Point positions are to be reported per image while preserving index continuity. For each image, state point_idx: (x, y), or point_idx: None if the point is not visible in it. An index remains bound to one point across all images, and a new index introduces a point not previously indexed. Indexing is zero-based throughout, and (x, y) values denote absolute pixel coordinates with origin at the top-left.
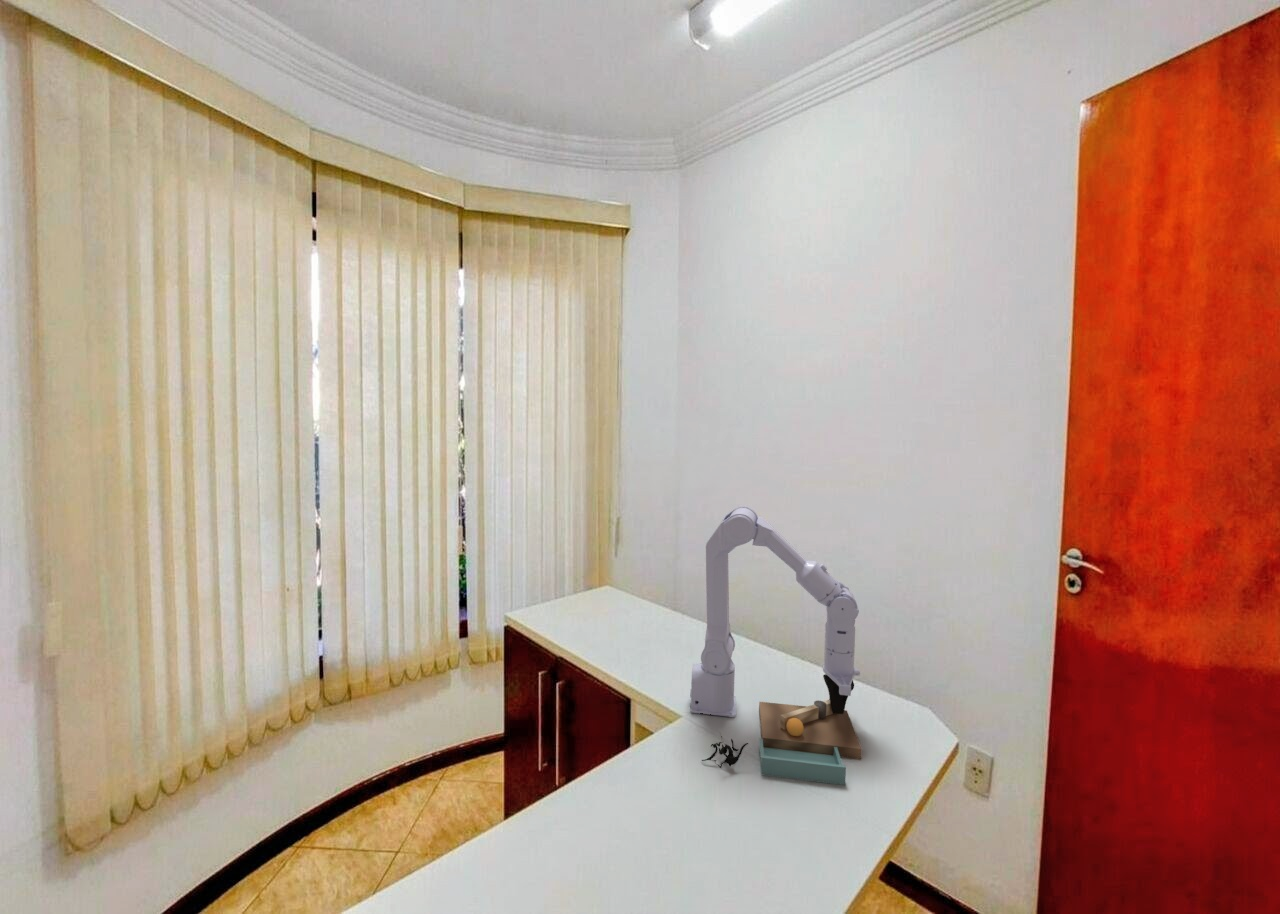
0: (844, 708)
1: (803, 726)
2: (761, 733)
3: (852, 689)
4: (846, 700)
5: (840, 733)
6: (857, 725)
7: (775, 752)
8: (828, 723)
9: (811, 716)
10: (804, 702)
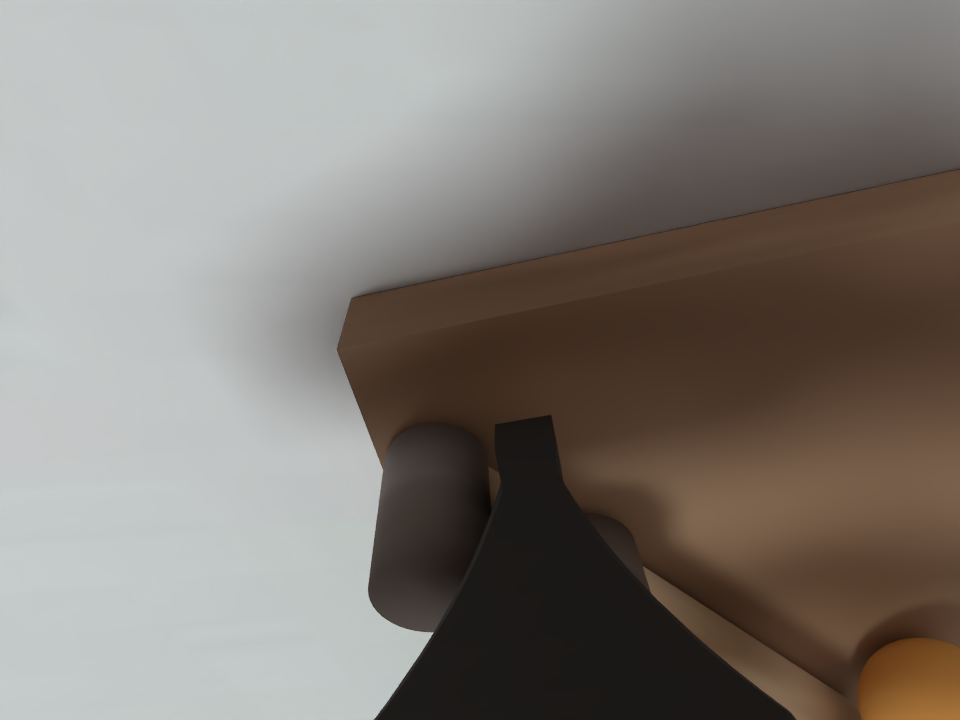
0: (554, 448)
1: (953, 685)
2: None
3: (777, 702)
4: (586, 522)
5: (834, 388)
6: (409, 192)
7: None
8: (676, 484)
9: (698, 630)
10: (252, 591)
